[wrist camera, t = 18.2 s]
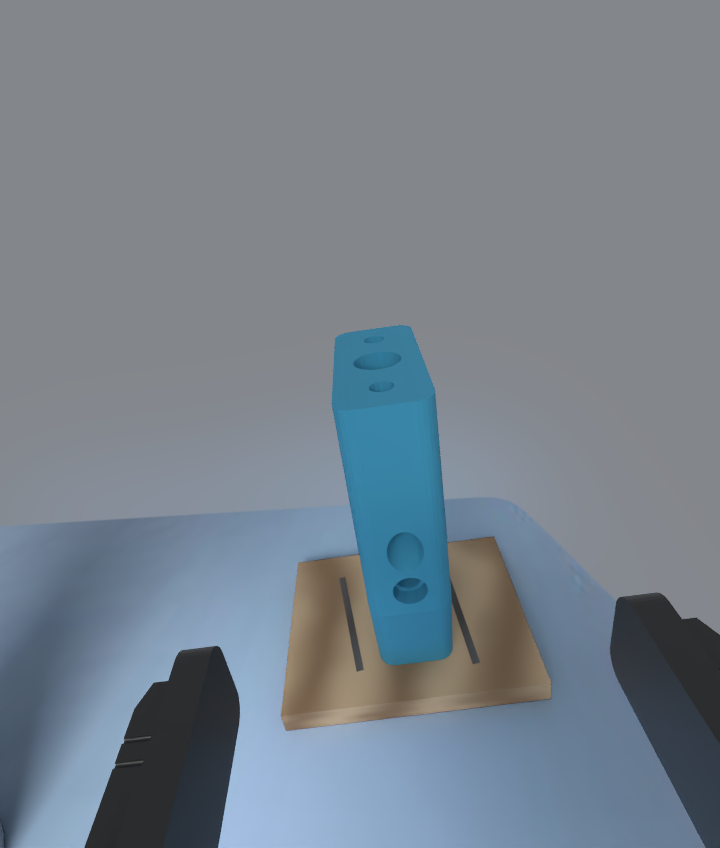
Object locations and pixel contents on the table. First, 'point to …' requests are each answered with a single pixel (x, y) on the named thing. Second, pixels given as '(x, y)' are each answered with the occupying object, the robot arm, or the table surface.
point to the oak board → (416, 682)
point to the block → (395, 489)
